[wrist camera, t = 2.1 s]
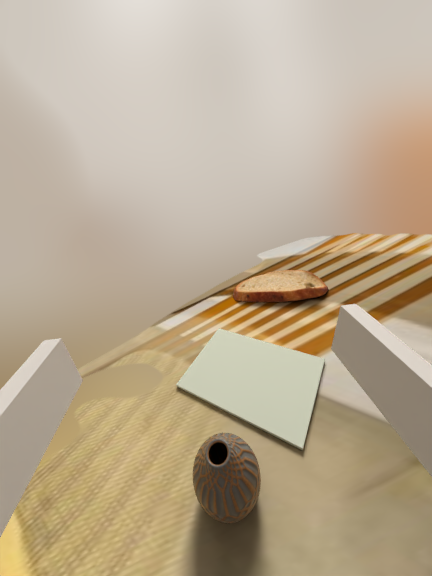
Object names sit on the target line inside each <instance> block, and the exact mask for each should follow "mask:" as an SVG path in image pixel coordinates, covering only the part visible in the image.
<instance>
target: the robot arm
mask: <svg viewBox="0 0 432 576" xmlns="http://www.w3.org/2000/svg"><path fill="white" fill-rule="evenodd" d="M331 349H332V350H333V352H334V353H335V354H336V356H337V357H338V358H339V359H340V361H341V362H342V363H343V364H344V366H345V367H346V368H347V370H348V371H349V372H350V373H351V375H352V376H353V377H354V378H355V380H356V381H357V382H358V384H359V385H360V386H361V387H362V389H363V390H364V391H365V392H366V394H367V395H368V396H369V398H370V399H371V400H372V401H373V403H374V404H375V405H376V406H377V408H378V409H379V410H380V412H381V413H382V414H383V415H384V417H385V418H386V419H387V420H388V422H389V423H390V424H391V426H392V427H393V428H394V429H395V431H396V432H397V433H398V434H399V436H400V437H401V438H402V440H403V441H404V442H405V443H406V445H407V446H408V447H409V448H410V450H411V451H412V452H413V453H414V455H415V456H416V457H417V459H418V460H419V461H420V462H421V464H422V465H423V466H424V467H425V469H426V470H427V471H428V473H429V474H430V475H431V476H432V365H431V364H430V363H429V362H427V361H426V360H425V359H424V358H423V357H421V356H420V355H419V354H418V353H416V352H415V351H414V350H413V349H411V348H410V347H409V346H408V345H406V344H405V343H404V342H403V341H401V340H400V339H399V338H398V337H396V336H395V335H394V334H393V333H391V332H390V331H389V330H388V329H387V328H385V327H384V326H383V325H382V324H380V323H379V322H378V321H377V320H375V319H374V318H373V317H372V316H370V315H369V314H368V313H367V312H365V311H364V310H363V309H362V308H360V307H359V306H358V305H357V304H352V305H344V306H341V308H340V312H339V317H338V321H337V326H336V330H335V335H334V339H333V344H332V348H331ZM81 383H82V378H81V376H80V374H79V372H78V370H77V368H76V366H75V364H74V362H73V360H72V358H71V357H70V354H69V353H68V351H67V349H66V347H65V345H64V343H63V341H62V339H53V340H44V341H43V342H42V343H41V344H40V346H39V347H38V348H37V349H36V350H35V351H34V353H33V354H32V355H31V356H30V357H29V358H28V359H27V360H26V362H25V363H24V364H23V365H22V366H21V367H20V368H19V369H18V371H17V372H16V373H15V374H14V375H13V376H12V378H11V379H10V380H9V381H8V382H7V383H6V384H5V385H4V387H3V388H2V389H1V390H0V537H1V535H2V533H3V531H4V529H5V527H6V525H7V524H8V522H9V520H10V518H11V516H12V514H13V512H14V510H15V508H16V506H17V505H18V503H19V501H20V499H21V497H22V495H23V493H24V491H25V489H26V487H27V486H28V484H29V482H30V480H31V478H32V476H33V474H34V472H35V470H36V468H37V466H38V465H39V463H40V461H41V459H42V457H43V455H44V453H45V451H46V449H47V447H48V446H49V444H50V442H51V440H52V438H53V436H54V434H55V432H56V430H57V428H58V426H59V425H60V423H61V421H62V419H63V417H64V415H65V413H66V411H67V409H68V407H69V405H70V403H71V402H72V400H73V398H74V396H75V394H76V392H77V390H78V388H79V387H80V385H81Z"/></svg>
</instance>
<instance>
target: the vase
mask: <svg viewBox="0 0 432 576" xmlns="http://www.w3.org/2000/svg"><path fill="white" fill-rule="evenodd" d="M260 482H261V479H260V469H259V465H258V462H257V459H256V456H255V454H254V452H253V451H252V449H251V448H250V446H249V445H248V444H247V443H246V442H245V441H244V440H243V439H241V438H240V437H238V436H236V435H234V434H230V433H219V434H216V435H213V436H212V437H210V438H209V439H207V440H206V441H205V442H204V443H203V445H202V446H201V447H200V449H199V451H198V453H197V455H196V458H195V462H194V467H193V485H194V490H195V493H196V496H197V499H198V501H199V503H200V504H201V506H202V508H203V509H204V510H205V511H206V512H207V514H209V515H210V516H211V517H212V518H214V519H215V520H217V521H219V522H223V523H234V522H238V521H240V520H242V519H243V518H245V517H246V516H247V515H248V514H249V513H250V512H251V511H252V509H253V508H254V506H255V504H256V502H257V499H258V496H259V492H260Z"/></svg>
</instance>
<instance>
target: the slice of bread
mask: <svg viewBox="0 0 432 576" xmlns="http://www.w3.org/2000/svg"><path fill="white" fill-rule="evenodd" d="M327 291H328V287H327V286H326V285H325V284H324V282H323V281H322V280H321V279H319V278H318V277H317V276H316V275H314V274H312V273H310V272H308V271H305V270H285V271H275V272H270V273H267V274H265V275H260V276H256V277H253V278H250V279H248V280H246V281H243V282H241V283H240V284H239V285H238V286H237V287H236V288H235V290H234V293H233V298H234V299H235V300H237V301H245V302H287V301H297V300H305V299H308V298H316V297H319V296H322V295H324V294H326V292H327Z"/></svg>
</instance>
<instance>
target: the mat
mask: <svg viewBox="0 0 432 576" xmlns="http://www.w3.org/2000/svg"><path fill="white" fill-rule="evenodd" d="M324 361H325V359H323V358H320V357H316V356H313V355H309V354H306V353H302V352H299V351H295V350H292V349H288V348H285V347H282V346H278V345H275V344H271V343H268V342H264V341H261V340H257V339H254V338H250V337H247V336H243V335H240V334H237V333H233V332H230V331H226V330H223V329H218V330H217V331H216V333H215V334H214V335H213V337H212V338H211V339H210V341H209V342H208V343H207V345H206V346H205V347H204V349H203V350H202V351H201V353H200V354H199V355H198V356H197V358H196V359H195V360H194V362H193V363H192V364H191V366H190V367H189V368H188V370H187V371H186V372H185V374H184V375H183V376H182V378H181V379H180V380H179V382H178V383H177V384H176V386H177V387H178V388H180V389H182V390H184V391H186V392H188V393H190V394H192V395H194V396H196V397H198V398H200V399H202V400H204V401H206V402H208V403H210V404H212V405H214V406H216V407H218V408H220V409H222V410H224V411H226V412H228V413H230V414H232V415H234V416H236V417H237V418H239V419H241V420H243V421H245V422H247V423H249V424H251V425H253V426H255V427H257V428H259V429H261V430H263V431H265V432H267V433H269V434H271V435H273V436H275V437H277V438H279V439H281V440H283V441H285V442H287V443H289V444H291V445H293V446H295V447H297V448H299V449H301V450H303V447H304V443H305V439H306V435H307V431H308V427H309V423H310V419H311V415H312V410H313V406H314V402H315V398H316V394H317V390H318V386H319V382H320V378H321V374H322V369H323V365H324Z"/></svg>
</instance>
